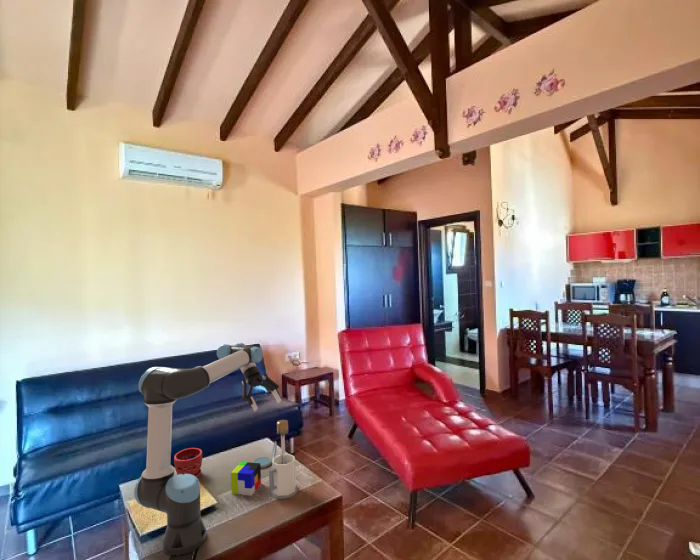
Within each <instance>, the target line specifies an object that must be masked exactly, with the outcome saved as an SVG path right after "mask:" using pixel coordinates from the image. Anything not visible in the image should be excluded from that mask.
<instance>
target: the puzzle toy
mask: <svg viewBox="0 0 700 560" xmlns="http://www.w3.org/2000/svg"><path fill="white" fill-rule="evenodd" d="M261 469H262V468H261V466H260V463H253V462H251V461H250V462H249V461H241V462H240V463H238V465H237V466H235V468H234V469H233V470H232V471H231V472H230V482H231V483H230V487H231V488H230V489H231V494H232V493H233V494H232V495H239V494H244V495H243V496H250V495H252V494H253V495H254V493H255V492H256V491H257V490H258V488H259V487H260V486H261V484H262V471H261ZM256 489H257V490H256ZM253 495H252V496H253Z"/></svg>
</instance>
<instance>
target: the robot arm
mask: <svg viewBox="0 0 700 560" xmlns="http://www.w3.org/2000/svg"><path fill="white" fill-rule="evenodd" d="M216 356H217V358H218V360H215V361H213V362H211V363H209V364H206V365H203V366H201V365H198V366H195V367H193V368H192V367H191V368H175V367H166V366H153V367H149V368H148V369H146V371H145V372H144V373H143V374H142V375H141V377H140V379H139V381H138V390H139V393H141V394H142V395H143V396H144V405H145V406H147V407H148V414H147V415H148V417H147V439H146V441H147V442H146V464H145V465H146V468H145V469H144V470H143V471H142V473H141V475H140V477H139V478H138V480H137V483H136V484H135V486H134V491H133V494H134V500H135V501H136V502H137V504H138V505H141V506H142V507H144V508H145V509H152V510H156V511H158V512H161V513H165V514H166V520H167V521H166V522H167V523H166V524H167V525H166V529H165V532H164V536H163V539H162V550H163V552H164V553H165V554H166V555H169V556H174V555H176V556H181V554H183V555H186V554H189V553H191V552H194V551H195V550H197V549H199V547H200V546H202V544H203V543H204V542H205V540H206V539H207V529H206V526H205V523H204V521H203V519H202V516H201V487H200V480H199V478H198V477H195V476H194V475H191V474H184V475H182V474H179V475H177V474H175V466H173V465H172V464H171V462H172V461H171V455H172V430H173V428H172V426H173V405H174V404H175V403H176V402H177V400H180V399H184V398H189V396H190V397H191V396H193V395H195V394H199V392H202V391H204V390H205V389H208V387H209V386H210V384H211V383H214V382H216V381H218V380H219V379H221V378H223V377H226V376H227V375H229V374H231V373H233V372H235V371H237V370H239V369H240V371H241V373H242V374H243V379H242V381H241V387H242V389H241V391H242V393H241V399H242V401H243V400H244V401H246V402H248V405H249V406H251V408H252V410H253V411H254V412H257V410H258V408H259V407H258V405H257V403H256V402H255V400H254V397H253V396H251V395H252V392H253V389H254V388H256V387H259V386H261V387H263V388H266V389H268V390H270V391H271V393H272V396H273V397H274V399H275V401H276V404H280V403H281V402H282V399H281V397H280V393H279V390H278V389H279V388H280V385H279V384H277V383H276V382H275V381H274V380H272V379H271V378H270V377H269V376H268V375H267V374H266V373H264V375H261V372H260V370H259V368H258V367H257V365H256V364H258V363H261V361H262V360H263V350H262V347H259V346H253V345H252V346H247V345H245V343H243V342H239V343H236V344H234V345H231V344H221V345H220V346H219V347H217V350H216ZM247 385H249V386H247ZM247 387H248V391H247Z"/></svg>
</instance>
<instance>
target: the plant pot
mask: <svg viewBox="0 0 700 560" xmlns="http://www.w3.org/2000/svg"><path fill="white" fill-rule="evenodd" d="M173 456H174V458H173V464H174V471H175V472H176V475H179V474H182V475H184V474H191V475H194V476H195V477H197V478H198V477H199V476H200V475H201V473H202V469H201V468H202V464H203V463H202V462H203V450H202V449H201V448H198V447H197V448H196V447H189V448H184V449H182V450H180V451H178V452H177V453H175V454H174V455H173ZM192 456H193V458H191V457H192Z"/></svg>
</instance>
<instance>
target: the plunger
mask: <svg viewBox="0 0 700 560" xmlns="http://www.w3.org/2000/svg"><path fill="white" fill-rule="evenodd" d="M276 431H277V432H276V435H280V442H281V443H280V445H281V454H282V463H281V464H288V463H285V454H286V443H285V442H286V440H285V439H286V437H285V435H287V434H289V420H288V419H280V420H277V422H276Z"/></svg>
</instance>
